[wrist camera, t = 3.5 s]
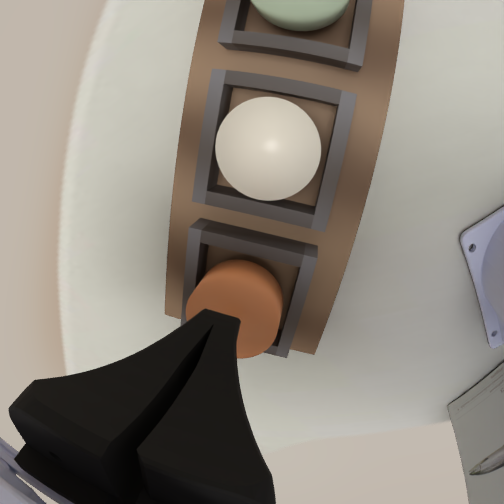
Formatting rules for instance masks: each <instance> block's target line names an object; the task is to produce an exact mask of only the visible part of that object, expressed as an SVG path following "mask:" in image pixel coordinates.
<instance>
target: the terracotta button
mask: <svg viewBox="0 0 504 504" xmlns="http://www.w3.org/2000/svg"><path fill="white" fill-rule="evenodd" d="M283 302H284V299H283V293H282V289H281V287H280V285H279V283H278V281H277V280H276V279H275V277H274V276H273V275H272V274H271V273H270V272H269V271H268V270H266V269H265V268H263V267H262V266H260V265H258V264H256V263H254V262H250V261H246V260H238V259H235V260H227V261H223V262H221V263H219V264H217V265H215V266H214V267H212V268H211V269H210V270H209V271H208V272H207V274H206V275H205V276H204V278H203V279H202V280H201V282H200V283H199V284H198V286H197V287H196V289H195V290H194V291H193V293H192V294H191V295H190V297H189V299H188V302H187V305H186V320H187V321H188V320H190V319H191V318H192V317H194V316H195V315H196V314H198V313H199V312H200V311H201V310H203V309H205V308H206V309H209V310H213V311H216V312H219V313H223V314H226V315H230V316H233V317H237V318H239V319H240V321H241V324H240V329H239V333H238V338H237V358H249V357H253V356H256V355H259V354H261V353H263V352H264V351H266V350H267V349H268V348H269V347H270V346H271V345H272V343H273V342H274V340H275V338H276V335H277V332H278V327H279V323H280V318H281V314H282V309H283Z"/></svg>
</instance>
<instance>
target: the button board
mask: <svg viewBox="0 0 504 504" xmlns="http://www.w3.org/2000/svg"><path fill="white" fill-rule="evenodd" d="M403 9H404V0H350V1H349V5H348V7H347V9H346V11H345V13H344V14H343V15H342V16H341V17H340V18H339V19H338V20H337V21H336V22H334V23H332V24H331V25H329V26H326V27H324V28H321V29H317V30H312V31H293V30H288V29H284V28H281V27H278V26H276V25H274V24H272V23H270V22H269V21H267V20H266V19H265V18H263V17H262V16H261V15H260V14H259V13H258V11H257V10H256V8H255V7H254V5H253V3H252V2H251V0H205V2H204V6H203V10H202V14H201V19H200V23H199V28H198V32H197V37H196V42H195V47H194V52H193V57H192V62H191V67H190V73H189V78H188V84H187V90H186V96H185V102H184V108H183V115H182V121H181V128H180V135H179V143H178V150H177V158H176V167H175V175H174V184H173V194H172V204H171V215H170V227H169V240H168V254H167V271H166V292H165V314H166V315H169V316H172V317H175V318H178V319H181V326H182V325H183V324H184V323H186V322H187V320H186V305H187V302H188V299H189V297H190V295H191V294H192V293H193V291H194V290H195V289H196V287H197V286H198V284H199V283H200V282H201V280H202V279H203V278H204V276H205V275H206V274H207V272H208V271H209V270H210V269H211V268H212V267H214V266H215V265H217V264H219V263H221V262H223V261H227V260H235V259H238V260H246V261H250V262H254V263H256V264H258V265H260V266H262V267H263V268H265V269H266V270H268V271H269V272H270V273H271V274H272V275H273V276H274V277H275V279H276V280H277V281H278V283H279V285H280V287H281V289H282V293H283V299H284V302H283V309H282V314H281V318H280V323H279V327H278V332H277V335H276V338H275V340H274V342H273V343H272V345H271V346H270V347H269V348H268V349H267V350H266V351H264V353H268V354H272V355H276V356H280V357H285V358H287V356H288V353H289V350H290V349H291V350H296V351H300V352H304V353H309V354H313V355H314V354H315V352H316V349H317V347H318V344H319V341H320V339H321V336H322V334H323V331H324V328H325V326H326V323H327V320H328V318H329V315H330V312H331V309H332V306H333V304H334V301H335V298H336V295H337V292H338V289H339V286H340V283H341V281H342V278H343V275H344V272H345V268H346V265H347V262H348V259H349V256H350V253H351V250H352V247H353V243H354V240H355V237H356V233H357V230H358V227H359V223H360V220H361V216H362V213H363V209H364V206H365V202H366V199H367V195H368V191H369V187H370V184H371V180H372V176H373V172H374V168H375V164H376V160H377V156H378V152H379V147H380V143H381V139H382V134H383V130H384V125H385V120H386V116H387V111H388V106H389V101H390V95H391V90H392V85H393V79H394V73H395V67H396V61H397V55H398V48H399V41H400V34H401V26H402V18H403ZM259 97H276V98H281V99H284V100H287V101H289V102H291V103H293V104H295V105H297V106H298V107H300V108H301V109H302V110H303V111H304V112H305V113H306V114H307V115H308V116H309V117H310V118H311V120H312V121H313V123H314V124H315V126H316V128H317V131H318V133H319V137H320V143H321V157H320V162H319V165H318V168H317V170H316V173H315V175H314V176H313V178H312V179H311V181H310V182H309V183H308V184H307V185H306V186H305V187H304V188H303V189H302V190H300V191H299V192H297V193H296V194H294V195H292V196H290V197H287V198H284V199H280V200H273V201H266V200H258V199H254V198H251V197H249V196H246V195H244V194H242V193H241V192H239V191H238V190H236V189H235V188H234V187H233V186H232V185H231V184H230V183H229V182H228V181H227V180H226V178H225V177H224V175H223V174H222V172H221V170H220V168H219V165H218V162H217V158H216V151H215V144H216V137H217V133H218V130H219V128H220V126H221V124H222V122H223V120H224V119H225V117H226V116H227V115H228V114H229V113H230V112H231V111H232V110H233V109H234V108H235V107H237V106H238V105H240V104H241V103H243V102H245V101H248V100H250V99H254V98H259Z"/></svg>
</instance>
